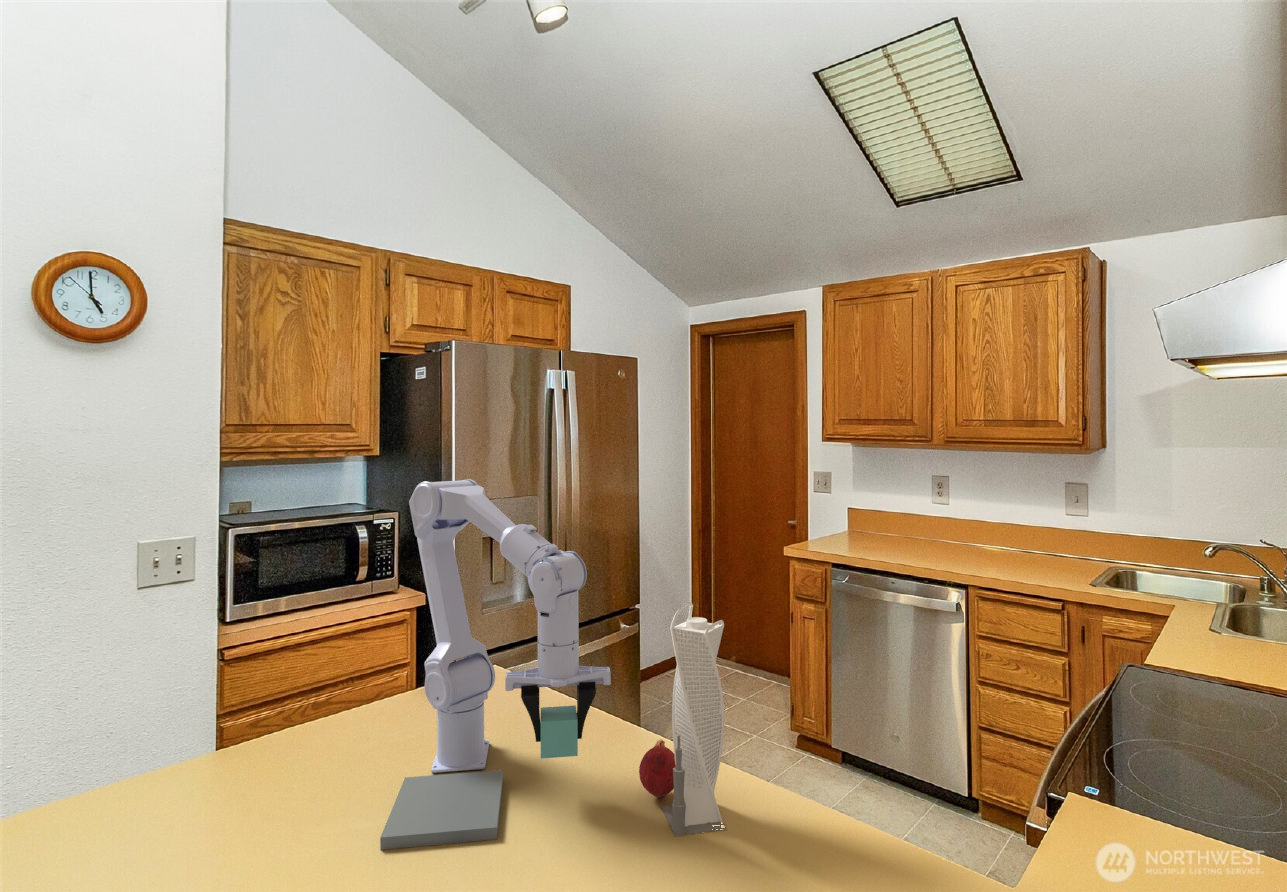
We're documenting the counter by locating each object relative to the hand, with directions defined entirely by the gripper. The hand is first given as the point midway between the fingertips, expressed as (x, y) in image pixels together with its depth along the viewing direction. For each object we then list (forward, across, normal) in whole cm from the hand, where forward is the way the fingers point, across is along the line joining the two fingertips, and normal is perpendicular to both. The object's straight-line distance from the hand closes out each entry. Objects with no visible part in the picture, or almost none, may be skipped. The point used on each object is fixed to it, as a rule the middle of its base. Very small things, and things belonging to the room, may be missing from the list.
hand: (558, 737), depth 94 cm
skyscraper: (+9, +18, -7) cm, 21 cm away
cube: (+2, 0, 0) cm, 2 cm away
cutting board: (+9, -15, -1) cm, 17 cm away
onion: (+9, +14, -2) cm, 17 cm away
